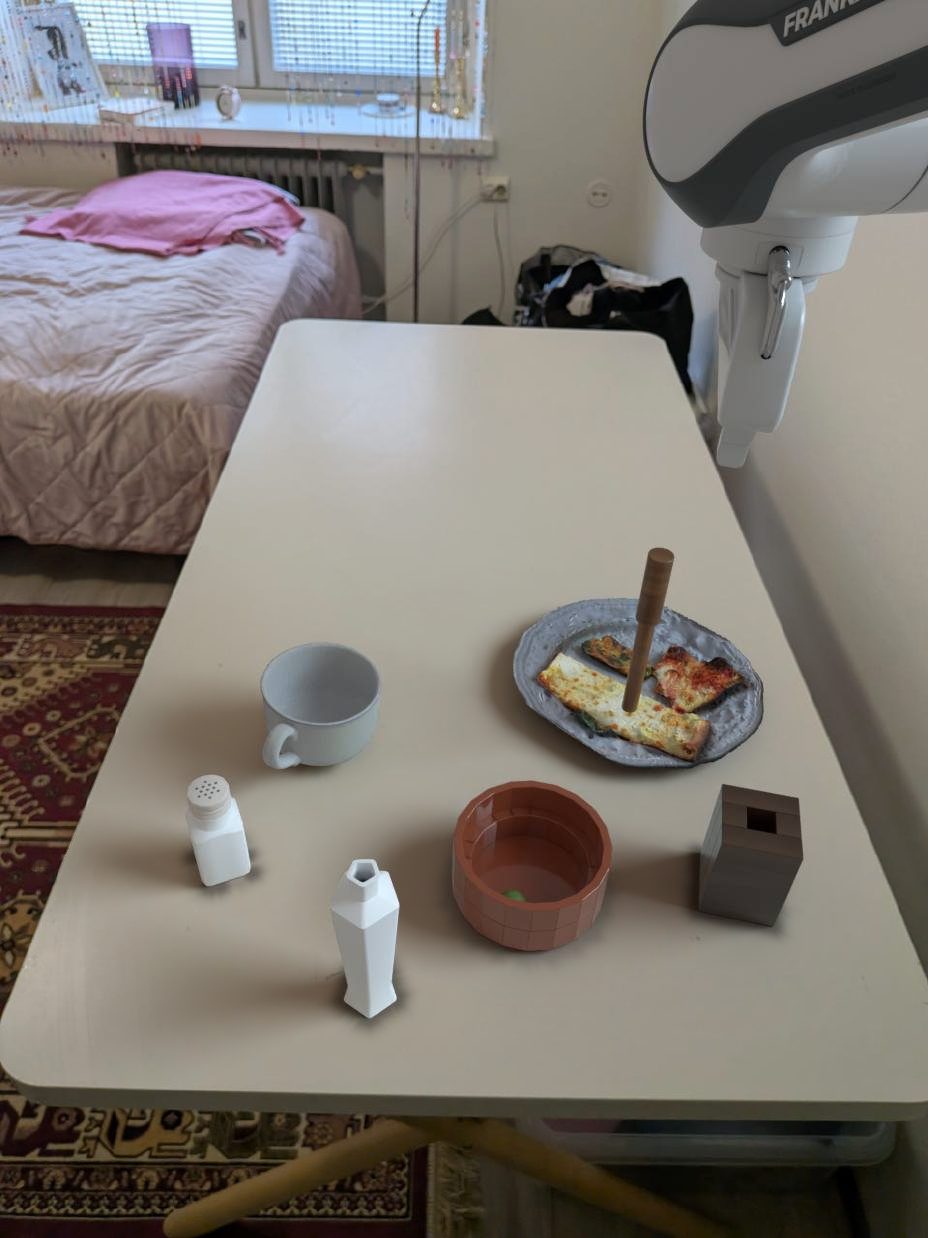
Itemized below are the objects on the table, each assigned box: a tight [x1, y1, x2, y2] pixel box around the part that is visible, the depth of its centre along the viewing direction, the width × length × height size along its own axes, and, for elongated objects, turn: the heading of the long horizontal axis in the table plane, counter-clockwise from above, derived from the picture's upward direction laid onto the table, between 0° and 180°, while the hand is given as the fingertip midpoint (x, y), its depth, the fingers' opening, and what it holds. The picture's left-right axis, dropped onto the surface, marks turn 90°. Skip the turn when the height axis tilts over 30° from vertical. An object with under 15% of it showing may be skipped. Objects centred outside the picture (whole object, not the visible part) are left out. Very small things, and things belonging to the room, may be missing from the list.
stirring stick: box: [622, 546, 675, 713], centre depth 83 cm, size 2×2×18 cm
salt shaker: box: [184, 773, 252, 887], centre depth 74 cm, size 4×4×10 cm
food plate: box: [512, 597, 765, 770], centre depth 94 cm, size 25×23×4 cm
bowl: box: [451, 780, 614, 952], centre depth 75 cm, size 12×12×6 cm
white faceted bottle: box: [329, 858, 400, 1019], centre depth 64 cm, size 5×4×15 cm
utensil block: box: [698, 783, 805, 927], centre depth 74 cm, size 6×6×9 cm
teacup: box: [259, 641, 382, 770], centre depth 85 cm, size 14×11×8 cm
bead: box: [502, 890, 526, 902], centre depth 73 cm, size 2×2×2 cm
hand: (728, 429), depth 65 cm, fingers open, 8 cm apart
